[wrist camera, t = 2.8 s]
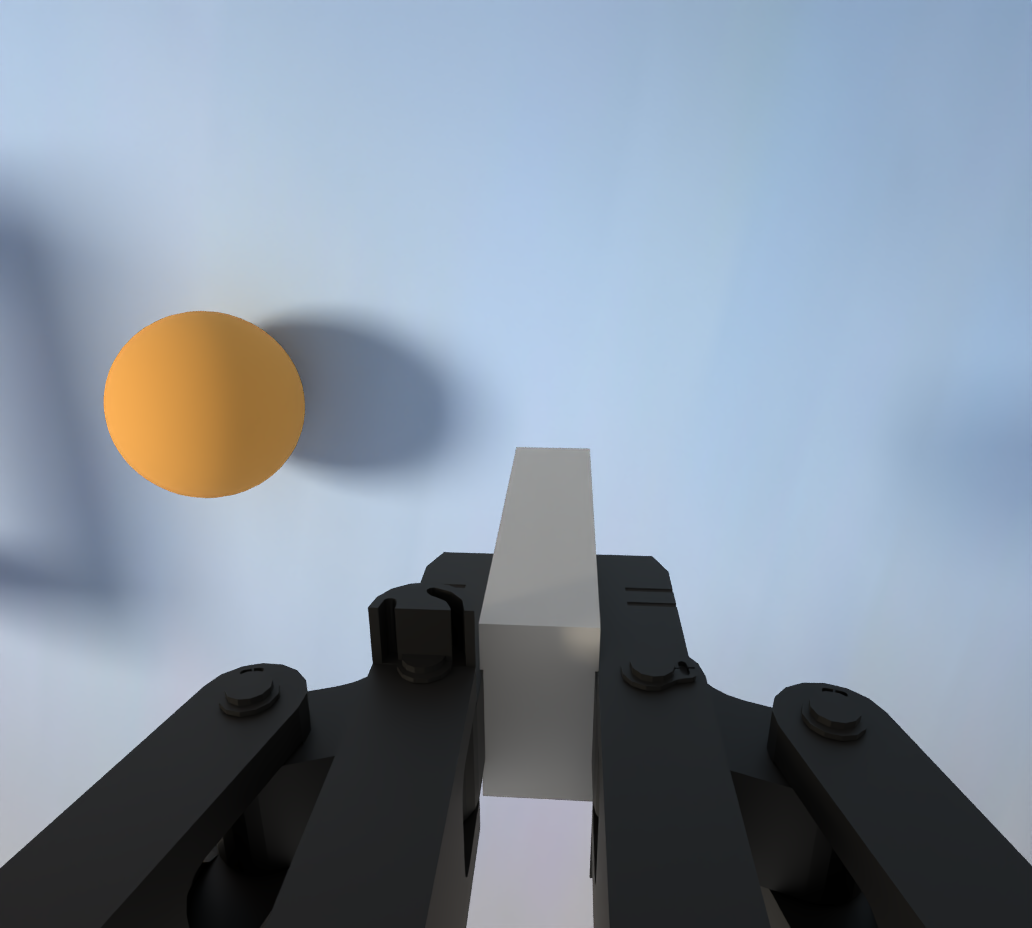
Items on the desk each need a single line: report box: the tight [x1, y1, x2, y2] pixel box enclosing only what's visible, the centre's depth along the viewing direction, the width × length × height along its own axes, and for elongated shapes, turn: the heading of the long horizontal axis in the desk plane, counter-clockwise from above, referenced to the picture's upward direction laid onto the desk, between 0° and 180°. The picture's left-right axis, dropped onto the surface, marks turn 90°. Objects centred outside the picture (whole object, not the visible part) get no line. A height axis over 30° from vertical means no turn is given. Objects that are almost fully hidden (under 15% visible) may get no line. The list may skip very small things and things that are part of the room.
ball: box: [104, 311, 305, 498], centre depth 22 cm, size 6×6×6 cm
